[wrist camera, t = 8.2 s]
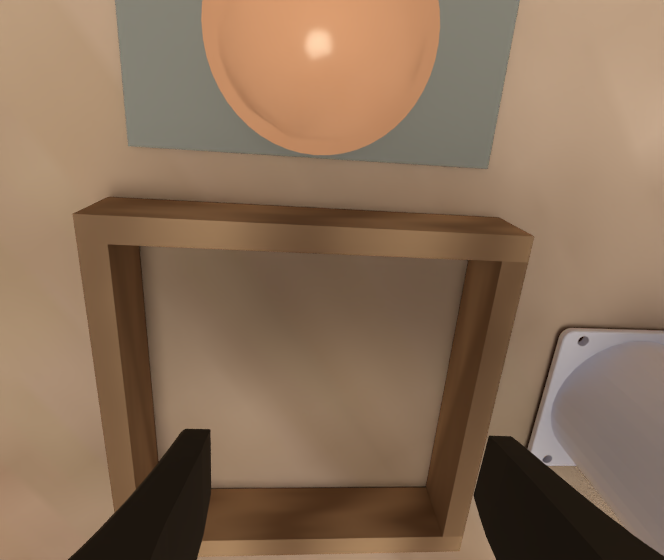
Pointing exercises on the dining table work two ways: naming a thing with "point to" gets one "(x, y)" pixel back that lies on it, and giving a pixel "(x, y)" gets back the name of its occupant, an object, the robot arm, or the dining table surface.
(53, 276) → the dining table surface
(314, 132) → the terracotta pot
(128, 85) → the rubber mat
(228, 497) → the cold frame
